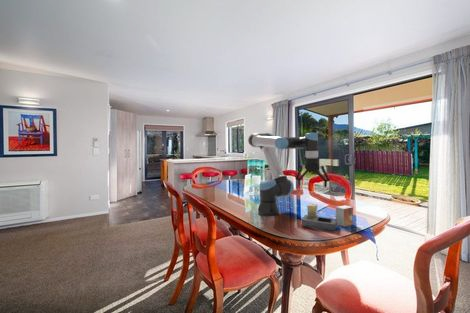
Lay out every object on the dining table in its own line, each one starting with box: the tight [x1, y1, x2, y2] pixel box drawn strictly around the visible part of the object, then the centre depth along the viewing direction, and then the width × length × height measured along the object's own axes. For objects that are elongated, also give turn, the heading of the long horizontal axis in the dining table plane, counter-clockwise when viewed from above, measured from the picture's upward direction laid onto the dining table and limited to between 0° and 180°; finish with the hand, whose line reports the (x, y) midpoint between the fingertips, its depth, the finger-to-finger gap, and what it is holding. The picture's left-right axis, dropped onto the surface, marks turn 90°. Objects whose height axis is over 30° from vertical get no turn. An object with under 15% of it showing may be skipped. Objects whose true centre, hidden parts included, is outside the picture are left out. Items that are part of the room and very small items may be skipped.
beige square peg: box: [306, 203, 319, 217], centre depth 129 cm, size 5×5×10 cm
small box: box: [335, 204, 354, 228], centre depth 121 cm, size 8×6×10 cm
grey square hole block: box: [300, 214, 338, 233], centre depth 120 cm, size 18×10×4 cm, turn 58°
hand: (312, 191), depth 129 cm, fingers open, 13 cm apart
